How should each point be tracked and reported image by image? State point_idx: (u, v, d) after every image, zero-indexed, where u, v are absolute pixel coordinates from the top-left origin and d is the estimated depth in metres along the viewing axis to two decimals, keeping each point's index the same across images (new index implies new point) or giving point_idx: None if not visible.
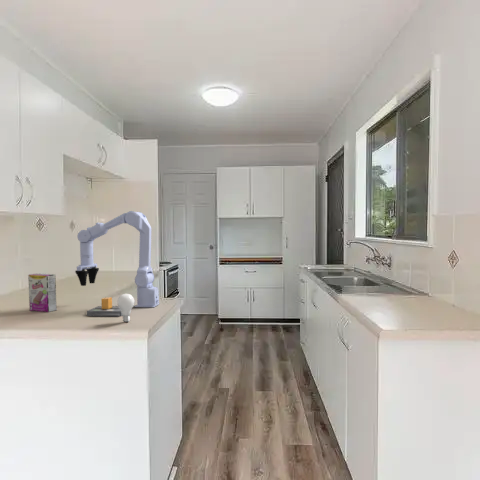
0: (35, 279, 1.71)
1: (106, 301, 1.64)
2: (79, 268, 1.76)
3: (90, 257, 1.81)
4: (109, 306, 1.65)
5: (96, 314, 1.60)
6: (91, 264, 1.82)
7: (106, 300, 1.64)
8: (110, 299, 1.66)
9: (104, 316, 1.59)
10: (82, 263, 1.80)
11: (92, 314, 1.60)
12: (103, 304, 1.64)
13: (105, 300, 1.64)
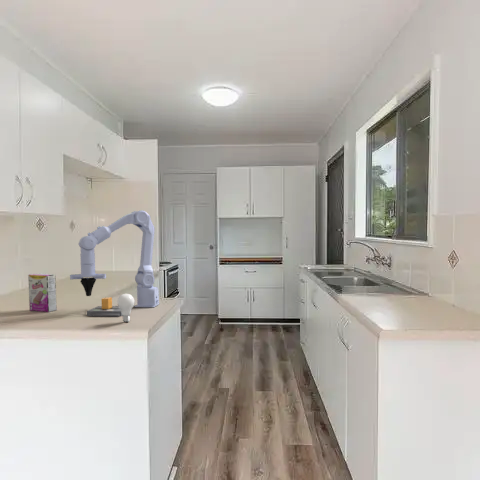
0: (35, 279, 1.71)
1: (106, 301, 1.64)
2: None
3: (82, 266, 1.64)
4: (109, 306, 1.65)
5: (96, 314, 1.60)
6: (83, 274, 1.64)
7: (106, 300, 1.64)
8: (110, 299, 1.66)
9: (104, 316, 1.59)
10: None
11: (92, 314, 1.60)
12: (103, 304, 1.64)
13: (105, 300, 1.64)
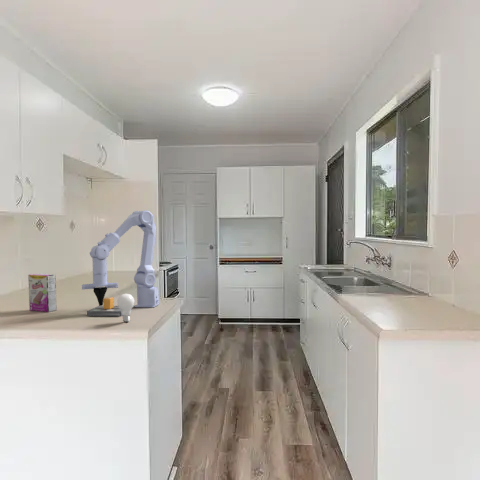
0: (35, 279, 1.71)
1: (107, 301, 1.64)
2: None
3: (95, 276, 1.63)
4: (111, 306, 1.65)
5: (96, 314, 1.60)
6: (96, 284, 1.63)
7: (108, 300, 1.64)
8: (112, 299, 1.66)
9: (104, 316, 1.59)
10: None
11: (92, 314, 1.60)
12: (105, 304, 1.64)
13: (107, 300, 1.64)
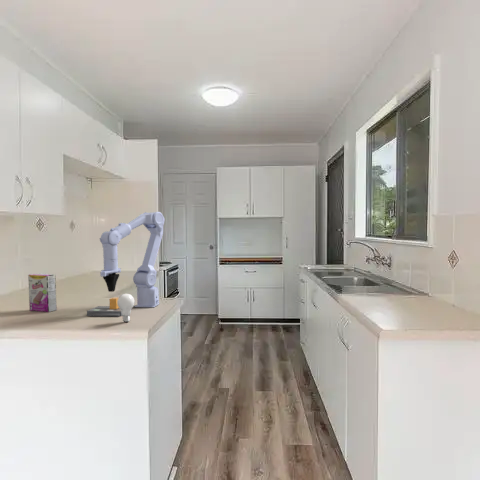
0: (35, 279, 1.71)
1: (114, 301, 1.64)
2: (103, 274, 1.58)
3: (114, 261, 1.63)
4: (117, 306, 1.65)
5: (96, 314, 1.60)
6: (115, 269, 1.64)
7: (114, 300, 1.64)
8: None
9: (104, 316, 1.59)
10: (106, 268, 1.63)
11: (92, 314, 1.60)
12: (111, 304, 1.64)
13: (113, 300, 1.64)
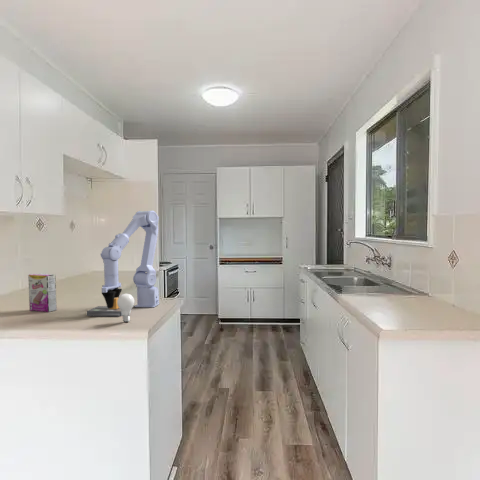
0: (35, 278, 1.71)
1: (114, 301, 1.64)
2: (104, 290, 1.58)
3: (115, 277, 1.64)
4: (117, 306, 1.65)
5: (96, 314, 1.60)
6: (116, 284, 1.64)
7: (114, 300, 1.64)
8: None
9: (104, 316, 1.59)
10: (107, 283, 1.63)
11: (92, 314, 1.60)
12: None
13: None
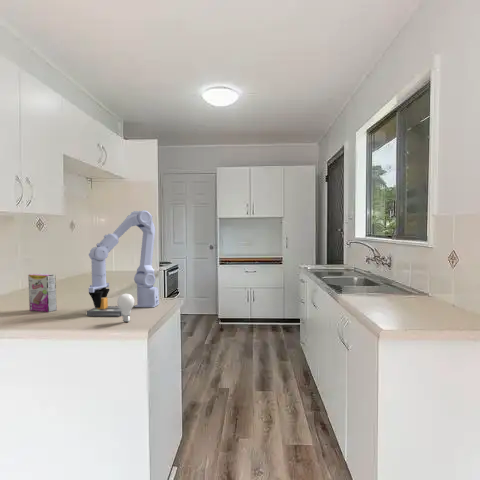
0: (35, 279, 1.71)
1: (101, 301, 1.64)
2: (91, 290, 1.59)
3: (103, 277, 1.64)
4: (104, 306, 1.65)
5: (96, 314, 1.60)
6: (104, 284, 1.65)
7: (101, 300, 1.64)
8: (106, 299, 1.66)
9: (104, 316, 1.59)
10: (94, 283, 1.63)
11: (92, 314, 1.60)
12: None
13: None
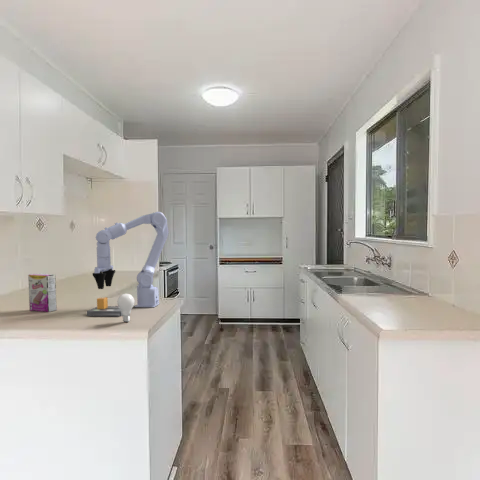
0: (35, 279, 1.71)
1: (101, 301, 1.64)
2: (97, 270, 1.66)
3: (107, 259, 1.72)
4: (104, 306, 1.65)
5: (96, 314, 1.60)
6: (108, 266, 1.72)
7: (101, 300, 1.64)
8: (106, 299, 1.66)
9: (104, 316, 1.59)
10: (99, 265, 1.71)
11: (92, 314, 1.60)
12: (98, 304, 1.64)
13: (100, 300, 1.64)
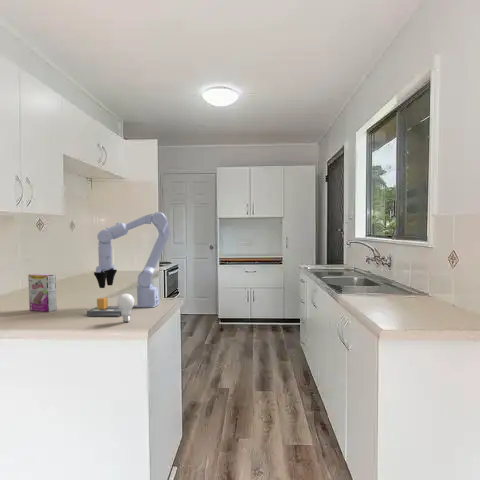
0: (35, 279, 1.71)
1: (101, 301, 1.64)
2: (98, 270, 1.69)
3: (109, 258, 1.74)
4: (104, 306, 1.65)
5: (96, 314, 1.60)
6: (110, 265, 1.75)
7: (101, 300, 1.64)
8: (106, 299, 1.66)
9: (104, 316, 1.59)
10: (101, 264, 1.73)
11: (92, 314, 1.60)
12: (98, 304, 1.64)
13: (100, 300, 1.64)
